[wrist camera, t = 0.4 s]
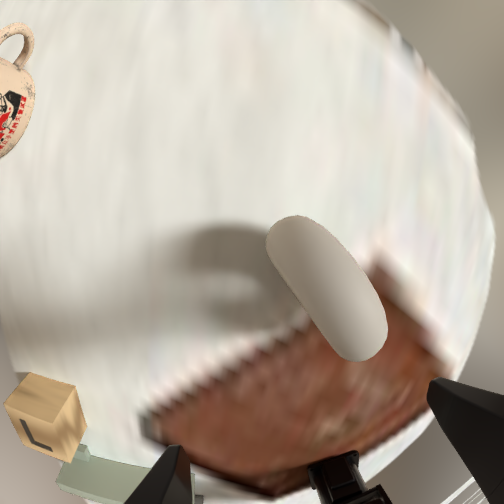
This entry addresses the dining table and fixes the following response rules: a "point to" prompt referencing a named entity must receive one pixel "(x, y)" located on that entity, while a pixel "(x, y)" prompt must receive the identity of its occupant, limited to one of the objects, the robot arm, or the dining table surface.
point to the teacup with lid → (15, 90)
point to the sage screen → (101, 478)
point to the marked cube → (47, 416)
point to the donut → (329, 286)
